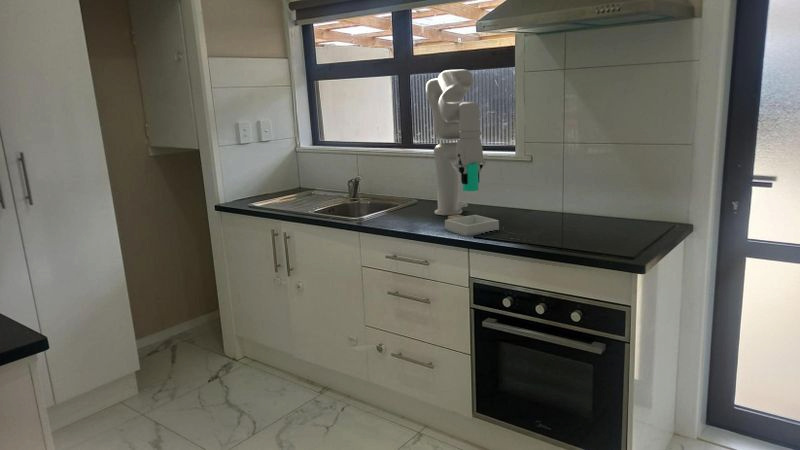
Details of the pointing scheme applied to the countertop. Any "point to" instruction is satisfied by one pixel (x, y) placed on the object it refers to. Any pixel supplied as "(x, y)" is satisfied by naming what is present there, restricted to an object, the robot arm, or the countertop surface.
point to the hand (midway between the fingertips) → (470, 182)
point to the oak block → (454, 216)
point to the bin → (471, 225)
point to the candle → (471, 178)
